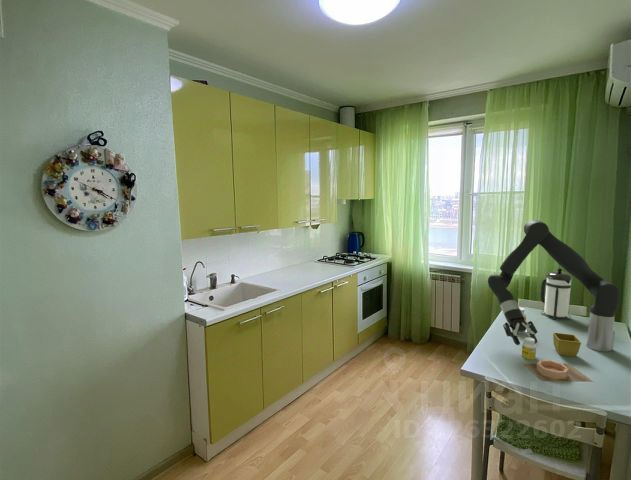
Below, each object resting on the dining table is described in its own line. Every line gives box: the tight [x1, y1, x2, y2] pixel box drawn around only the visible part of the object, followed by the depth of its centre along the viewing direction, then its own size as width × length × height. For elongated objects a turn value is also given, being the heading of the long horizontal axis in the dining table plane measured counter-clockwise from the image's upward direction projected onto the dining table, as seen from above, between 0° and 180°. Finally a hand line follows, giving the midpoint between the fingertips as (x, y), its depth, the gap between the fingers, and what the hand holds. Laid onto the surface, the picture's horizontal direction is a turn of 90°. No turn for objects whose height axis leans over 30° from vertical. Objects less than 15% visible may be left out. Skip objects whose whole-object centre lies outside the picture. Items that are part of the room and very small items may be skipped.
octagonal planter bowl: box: [536, 359, 569, 379], centre depth 146 cm, size 10×10×3 cm
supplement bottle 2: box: [521, 336, 537, 360], centre depth 159 cm, size 5×5×10 cm
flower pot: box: [552, 332, 582, 357], centre depth 162 cm, size 9×9×9 cm
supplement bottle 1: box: [510, 306, 527, 334], centre depth 190 cm, size 7×7×13 cm
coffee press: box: [540, 267, 573, 321], centre depth 210 cm, size 17×16×30 cm
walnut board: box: [523, 363, 594, 382], centre depth 146 cm, size 20×14×1 cm
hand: (527, 343), depth 160 cm, fingers open, 8 cm apart
